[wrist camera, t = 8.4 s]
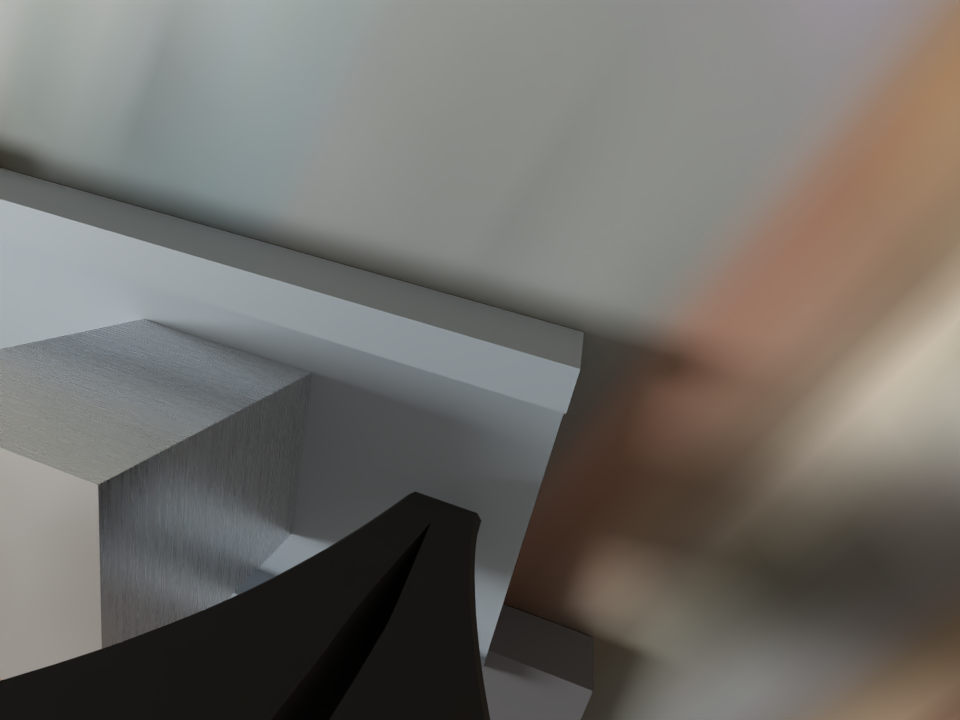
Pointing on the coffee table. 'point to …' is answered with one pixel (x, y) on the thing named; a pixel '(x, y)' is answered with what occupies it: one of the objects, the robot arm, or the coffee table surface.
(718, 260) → the coffee table surface
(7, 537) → the block
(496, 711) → the pad
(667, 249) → the coffee table surface
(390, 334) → the rail
